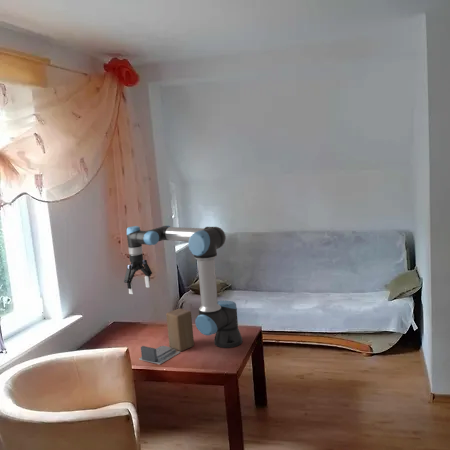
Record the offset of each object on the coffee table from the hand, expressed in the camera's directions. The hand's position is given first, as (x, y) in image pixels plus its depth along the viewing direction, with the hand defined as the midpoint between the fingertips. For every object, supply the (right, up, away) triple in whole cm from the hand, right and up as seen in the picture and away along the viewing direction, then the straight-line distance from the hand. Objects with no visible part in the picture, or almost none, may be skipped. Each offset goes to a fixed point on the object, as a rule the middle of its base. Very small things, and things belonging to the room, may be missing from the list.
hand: (139, 290), depth 307 cm
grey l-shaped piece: (+14, -31, -24) cm, 42 cm away
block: (+25, -29, -14) cm, 41 cm away
